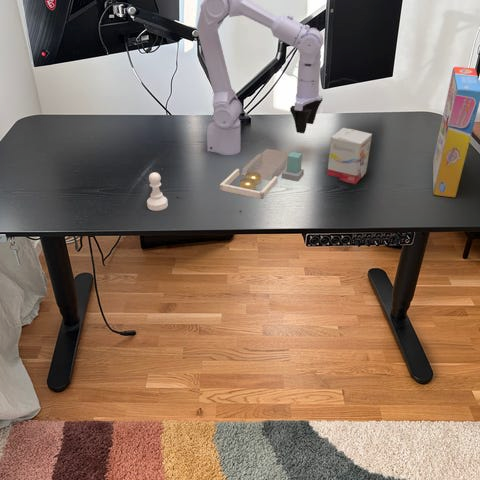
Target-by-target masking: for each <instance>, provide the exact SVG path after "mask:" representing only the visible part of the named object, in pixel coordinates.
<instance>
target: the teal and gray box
mask: <svg viewBox="0 0 480 480" xmlns="http://www.w3.org/2000/svg"><path fill="white" fill-rule="evenodd" d="M289 153H290V154H289V155H288V156H287V168H286V169H285V170H284V171H283V172H282V173H281V179H284V180H289V181H294V182H299V181H300V180H301V179H302V177H303V176H304V172H305V169H302V160H303V159H302V158H303V153H299V152H294V151H290V152H289Z"/></svg>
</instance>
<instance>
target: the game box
mask: <svg viewBox="0 0 480 480" xmlns="http://www.w3.org/2000/svg"><path fill="white" fill-rule="evenodd" d="M448 85H449V86H448V90H447V95H446V99H445V100H446V101H445V103H444V109H443V114H442V117H441V124H440V127H439V128H440V129H439V132H438V137H437V142H436V146H435V149H434V150H435V151H434V156H433V161H432V178H433V179H432V184H433V186H432V190H433V191H432V192H433V195H434V196H439V197H440V196H441V197H446V198H447V197H449V198H456V197H457V192H458V189H459V185H460V180H461V177H462V174H463V173H462V172H463V168H464V164H465V161H466V157H467V154H468V149H469V145H470V143H471V142H470V141H471V139H472V138H471V137H472V135H473V134H472V133H473V129H474V125H475V121H476V118H477V113H478V110H479V106H480V79H479V76H478V73H477V69H476V67H475V68H473V67H465V66H462V67H461V66H453V68H452V71H451V75H450V81H449V84H448Z"/></svg>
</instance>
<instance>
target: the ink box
mask: <svg viewBox="0 0 480 480" xmlns="http://www.w3.org/2000/svg"><path fill="white" fill-rule="evenodd" d="M372 135H373V133H369V132H365V131H361V130H358V129H357V130H356V129H353V128H347V127H342V128H341V129H339V130H338V131H337V132H336V133H334V134H333V135H331V136H330V146H329V155H328V165H327V172H326V173H327V175H329V176H332V177H336V178H338V179H337V181H339V182H344V183H347V184H348V183H349V184H351V185H356V184H357V183H358V182H359V181H360V180H361V179H362V178H363V177H364V175H366V173H367V168H368V163H369V155H370V149H371V143H372Z"/></svg>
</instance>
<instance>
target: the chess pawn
mask: <svg viewBox="0 0 480 480" xmlns="http://www.w3.org/2000/svg"><path fill="white" fill-rule="evenodd" d="M161 179H162V177H161V175H160V173H158V172H155V171H154V172H151V173H150V174H149V176H148V180H149V182H150V183H149V186H150V188H152V191H151V193H150V197H148V199H147V200H146V205H147V208H148V210H150V211H154V212H157V211H158V212H159V211H163V210H166V209H167V208H168V205H169V204H168V198H167V197H166V196H165V195H163V192H162V191H161V190H160V187H161V186H162V183H161Z"/></svg>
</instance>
